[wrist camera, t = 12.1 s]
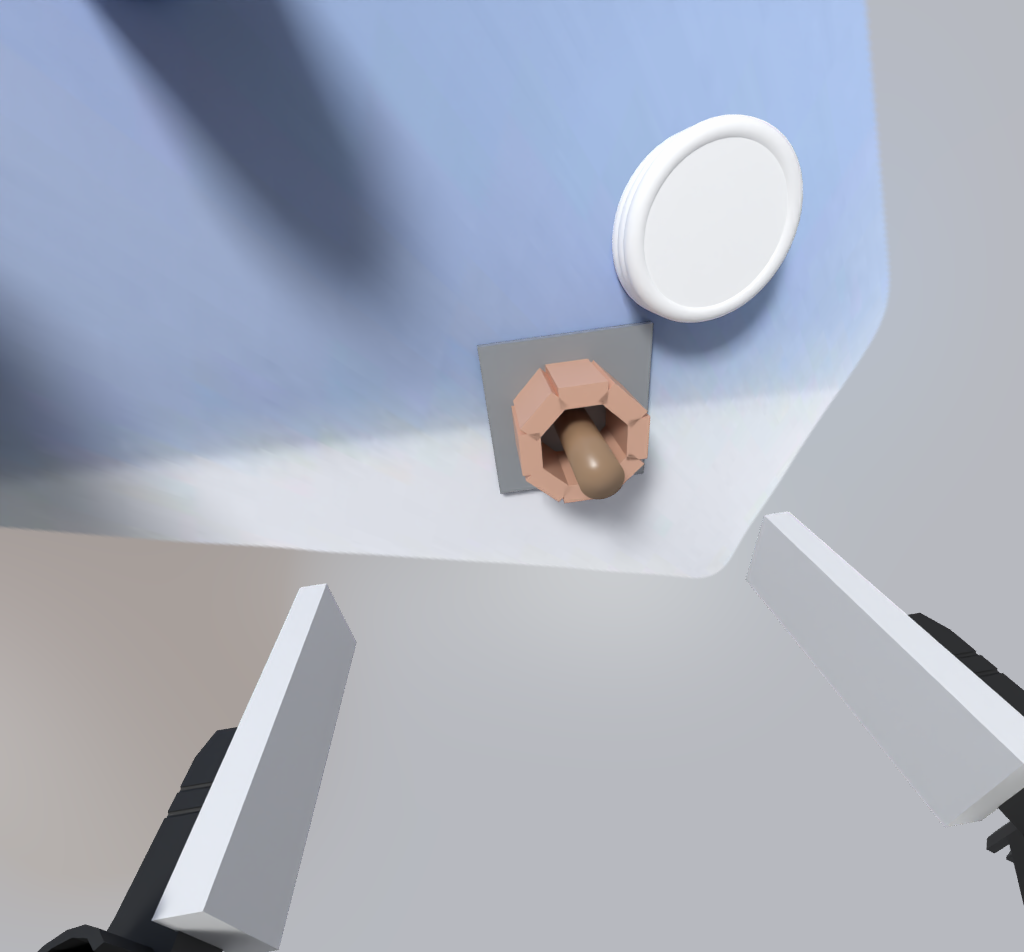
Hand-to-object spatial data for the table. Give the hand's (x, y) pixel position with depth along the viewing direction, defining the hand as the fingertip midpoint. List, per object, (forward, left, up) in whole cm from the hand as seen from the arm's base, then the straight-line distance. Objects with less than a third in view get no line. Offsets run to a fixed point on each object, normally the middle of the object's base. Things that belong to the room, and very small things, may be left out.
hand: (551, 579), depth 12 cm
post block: (+4, -3, -20) cm, 20 cm away
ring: (+4, -3, -19) cm, 20 cm away
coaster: (+13, +8, -20) cm, 25 cm away
